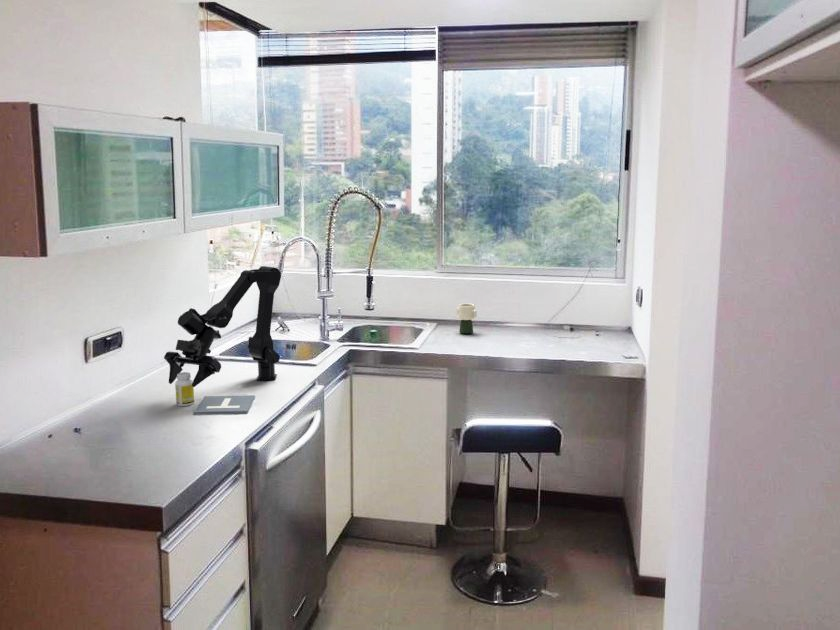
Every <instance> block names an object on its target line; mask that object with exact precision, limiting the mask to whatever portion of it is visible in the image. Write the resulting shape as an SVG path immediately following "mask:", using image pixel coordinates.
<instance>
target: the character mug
mask: <svg viewBox="0 0 840 630" xmlns="http://www.w3.org/2000/svg"><path fill="white" fill-rule="evenodd" d="M456 315H458V319H459V320H461V321H460V324H459V333H460V334H468V335H469V334H471V333H474V326H473V321H472V320H474V319H475V318H477V315H478V314H477V310H476V309H475V304H473V303H460V304H459V303H458V307H456Z"/></svg>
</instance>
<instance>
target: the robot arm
mask: <svg viewBox="0 0 840 630" xmlns="http://www.w3.org/2000/svg"><path fill="white" fill-rule="evenodd" d="M281 278H282V271H280V269H279V268H277V267H274V266H266V265H262V266H260V267H259V268H256V269H249V270H247V269H246V270H245V269H244V270H242V272H240V276H239V277H238V278H237V280H236V281H235V282H234V284H233V285H232V286H231V287H230V289H229V290H228V292H226V294H225V295H224V296H223V298H222V299H221V300H220V301H218V302H216V303H215V304H214V305H212V306H211V307H210V308H209V309H208V310H207V311H206V313H204V314H200V313H199V312H198V310H196V309H195V308H189V309H188V310H187V311H185V312H183V313H182V314H181V315H180V316H179V317H178V319H177V324H178V325H179V326H180V327H181V328H182V329H183V330H184V331H186V332H187V333H188V334H189V335H191V336H194V337H193V339H191V340H184V339H177V342H176V346H175V350H176V351H166V353H165V354H164V356H163V359H164V360H165V361H166V362H167V363H168V364H169V374H168V375H169V377H168V384H170V385H172V384H173V383H174V381H175V380H176V379H177V374H178V373H182V372H183V370H184V369H183V367H184V365H185V364H187V365H194V366H195V365H196V366H198V370H197V371H196V375H194V379H193V380H192V381H193V383H192V386H193V388H195V387H197V386H198V385H199V384H200V383H202V382H203V381H204V380H206V379H207V378H209V377H210V376H212V375H215V374H216V373H220V371H221V369H222V363H220V361H219V360H218V359H217V358H216V357H215V356H212V355H210V354H211V352H212V350H211V347H212V345H213V343H214V340H215V339H217V340H218V339H221V338H222V335H221V333H220V330H218V328H219V329H225V328H226V327H227V326H228V325H229V323H230V321H231V320H232V318H233V314H234V310H235V308H236V307H237V305H238V304H239V302H241V300H242V299H243V297H244V296H245V294H247V292H248V291H249V290H250V288H251V286H252V285H253V284H254V283H256V286H257V287H258V292H259V294H258V295H259V296H258V303H257V304H258V306H257V307H258V308H257V315H256V327H255V333H253V336H249V337H248V345H247V349H248V354H250V356H251V357H252V360H253V361H255V362H257V373H258V374H257V377H256V378H255V380H256V381H276V378H277V377H278V374H277V373H276V369H275V365H276V363H279V362H280V359H281V355H279V353H277V352H276V350H274V349H275V348H274V341H273V338H272V335H271V328H272V327H271V326H272V318H273V317H272V316H273V307H274V298H275V293H276V291H277V290H278V288H279V286H280V284H281V283H280V282H281ZM213 327H214V328H213ZM215 328H217V330H216V329H215ZM177 351H181V354H182V355H184V356H182V355H181V354H180V353H179V352H177ZM207 354H209V355H207Z"/></svg>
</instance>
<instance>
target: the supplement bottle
mask: <svg viewBox="0 0 840 630" xmlns="http://www.w3.org/2000/svg"><path fill="white" fill-rule="evenodd" d="M176 379H177V380H176V381H175V384H174V386H175V387H174V388H175V399H176V400H175V401H176V405H177V406H178V407H186V406H192V405H193V404H194V403H195V396H194V395H195V392H194V391H195V390H194V387H193V386H192V383H193V380H192V379H191V373H190V372H188V371H186V372H183V371H182V372H180V373H178V374H177V378H176Z"/></svg>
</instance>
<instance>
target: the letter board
mask: <svg viewBox="0 0 840 630" xmlns="http://www.w3.org/2000/svg"><path fill="white" fill-rule="evenodd" d="M254 398H255V399H256V395H255V394H254V395H252V394H251V395H247V394H246V395H245V394H244V395H213V396H212V395H211V396H210V395H207V396H206V395H205V396H204V397H203V398H202V399H201V400H200V402H199V404H198V405H197V407H196V408H195V410H194V411H193V415H224V414H225V415H227V414H228V415H229V414H235V415H236V414H237V415H238V414H248V413H249V411H250V409H251V407H252V405H253V403H254V401H255V399H254ZM253 400H254V401H253Z"/></svg>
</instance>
